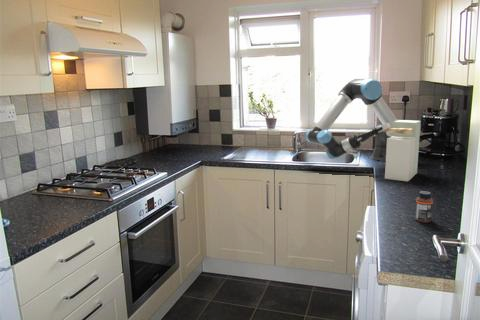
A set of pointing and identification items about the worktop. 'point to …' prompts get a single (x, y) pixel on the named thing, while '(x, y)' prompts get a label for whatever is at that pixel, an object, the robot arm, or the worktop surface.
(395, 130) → the t-shaped wooden block
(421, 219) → the supplement bottle
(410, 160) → the tall pale green block
